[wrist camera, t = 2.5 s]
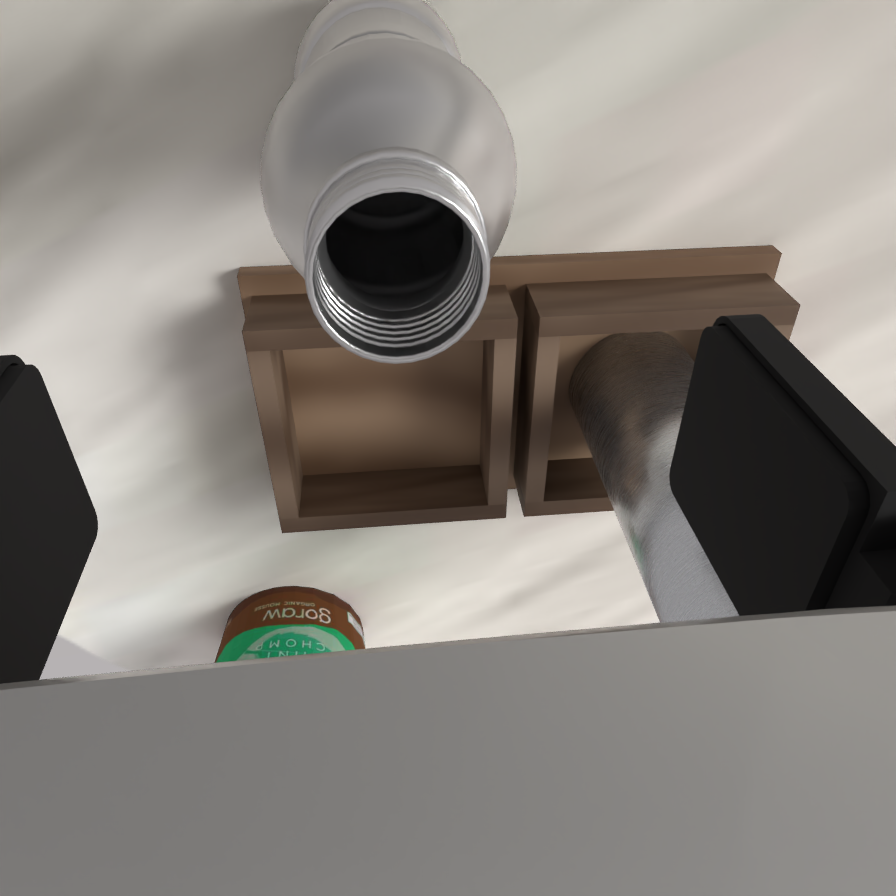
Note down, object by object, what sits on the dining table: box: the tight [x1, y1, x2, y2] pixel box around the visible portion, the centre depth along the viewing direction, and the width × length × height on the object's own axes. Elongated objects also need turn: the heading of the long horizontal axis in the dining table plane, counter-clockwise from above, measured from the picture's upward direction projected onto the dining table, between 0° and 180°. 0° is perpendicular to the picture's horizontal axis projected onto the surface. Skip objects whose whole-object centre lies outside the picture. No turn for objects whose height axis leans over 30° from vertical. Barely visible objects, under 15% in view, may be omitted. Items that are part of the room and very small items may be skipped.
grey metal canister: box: [569, 331, 739, 623], centre depth 32 cm, size 7×7×18 cm
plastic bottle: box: [260, 0, 517, 364], centre depth 22 cm, size 6×7×20 cm
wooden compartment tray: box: [237, 245, 800, 533], centre depth 37 cm, size 14×26×4 cm, turn 90°
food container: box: [215, 586, 365, 663], centre depth 45 cm, size 12×6×10 cm, turn 91°
